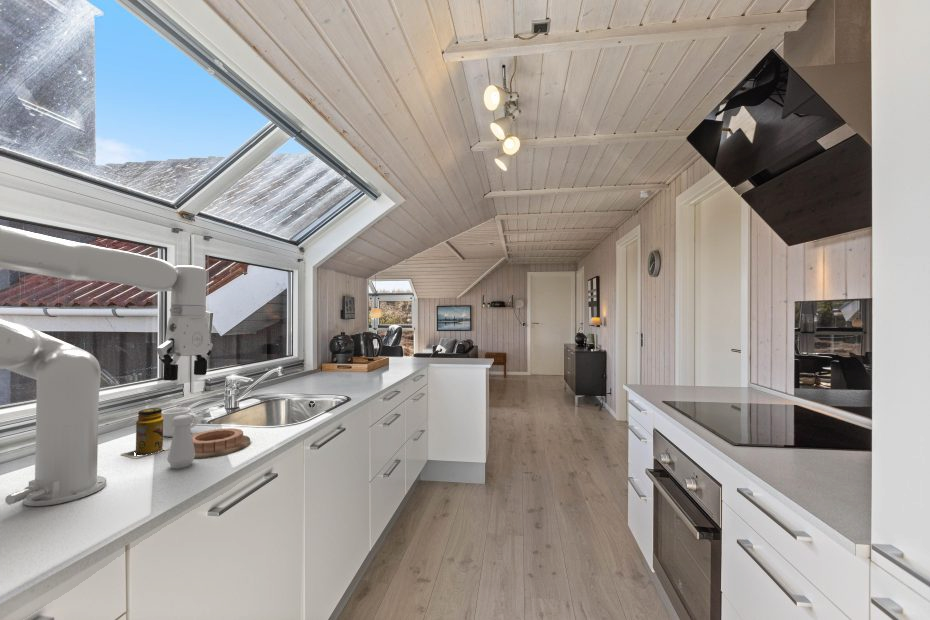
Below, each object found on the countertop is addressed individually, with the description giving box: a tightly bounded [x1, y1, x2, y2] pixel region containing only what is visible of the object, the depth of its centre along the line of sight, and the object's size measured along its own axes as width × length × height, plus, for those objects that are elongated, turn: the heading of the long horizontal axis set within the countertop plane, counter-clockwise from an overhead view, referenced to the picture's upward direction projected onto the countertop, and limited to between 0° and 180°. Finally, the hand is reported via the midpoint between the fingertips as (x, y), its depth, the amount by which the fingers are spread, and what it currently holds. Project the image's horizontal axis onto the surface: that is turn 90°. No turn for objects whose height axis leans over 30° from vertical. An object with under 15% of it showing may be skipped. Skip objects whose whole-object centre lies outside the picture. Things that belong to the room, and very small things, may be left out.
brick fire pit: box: [192, 427, 251, 460], centre depth 113 cm, size 18×18×4 cm
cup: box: [162, 407, 199, 438], centre depth 125 cm, size 11×8×8 cm
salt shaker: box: [167, 415, 195, 470], centre depth 99 cm, size 6×6×13 cm
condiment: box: [120, 407, 170, 460], centre depth 109 cm, size 7×8×12 cm
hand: (186, 377), depth 100 cm, fingers open, 9 cm apart
